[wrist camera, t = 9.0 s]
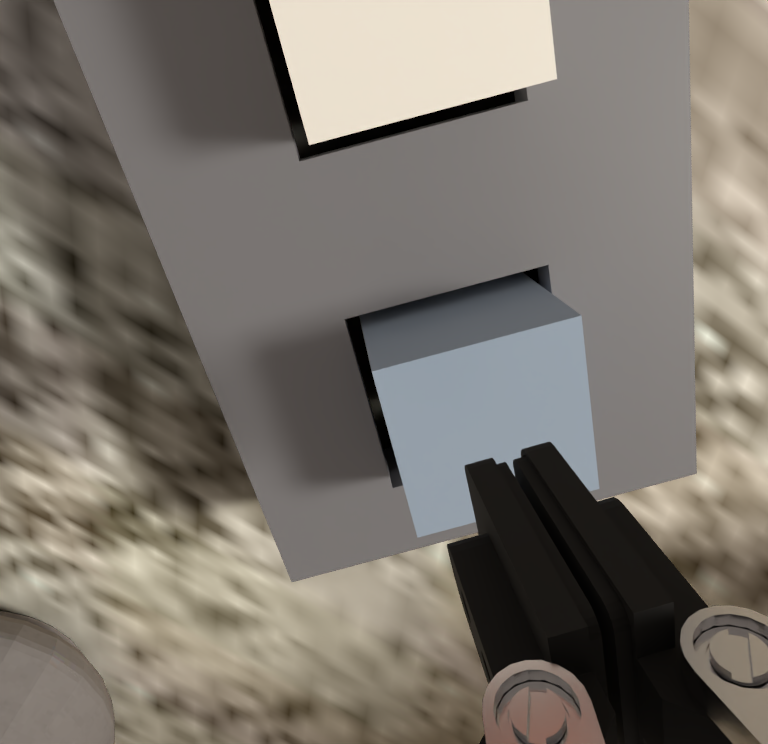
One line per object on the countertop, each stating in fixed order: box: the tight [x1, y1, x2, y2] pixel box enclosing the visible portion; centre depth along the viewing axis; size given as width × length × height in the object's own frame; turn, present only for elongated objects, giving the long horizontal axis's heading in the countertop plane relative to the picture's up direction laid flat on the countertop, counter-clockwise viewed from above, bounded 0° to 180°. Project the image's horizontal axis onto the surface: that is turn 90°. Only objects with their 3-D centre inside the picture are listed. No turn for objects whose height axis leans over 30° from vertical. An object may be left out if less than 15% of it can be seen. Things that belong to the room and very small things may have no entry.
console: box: [53, 0, 697, 582], centre depth 15 cm, size 14×31×5 cm, turn 14°
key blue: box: [359, 272, 599, 537], centre depth 17 cm, size 5×5×5 cm
